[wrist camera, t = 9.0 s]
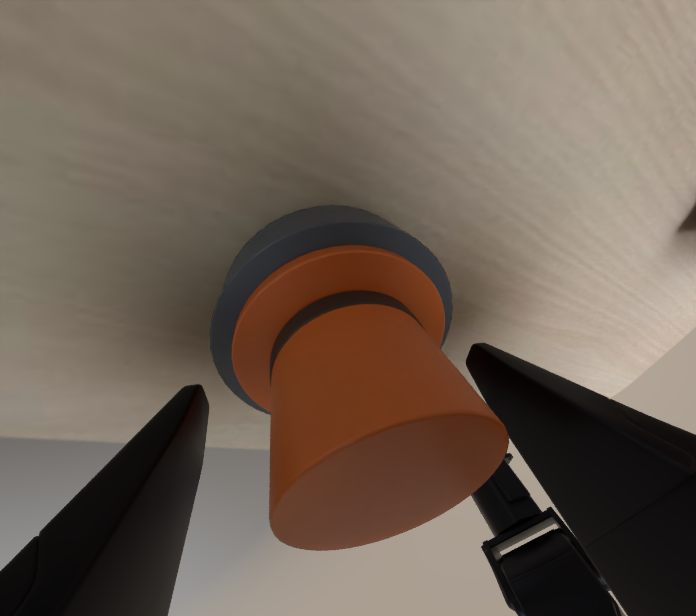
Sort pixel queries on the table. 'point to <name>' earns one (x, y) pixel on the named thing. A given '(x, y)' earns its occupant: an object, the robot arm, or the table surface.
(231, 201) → the table surface
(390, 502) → the orange top hat
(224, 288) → the stand
